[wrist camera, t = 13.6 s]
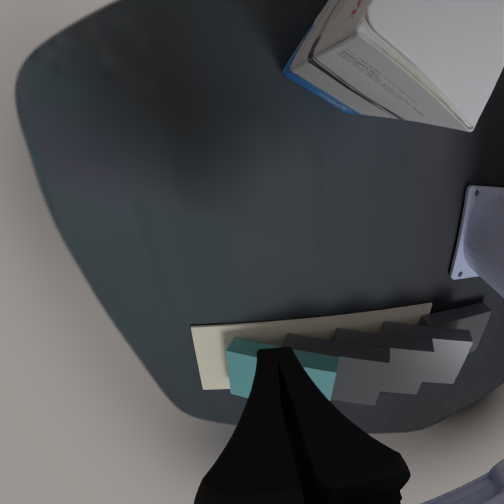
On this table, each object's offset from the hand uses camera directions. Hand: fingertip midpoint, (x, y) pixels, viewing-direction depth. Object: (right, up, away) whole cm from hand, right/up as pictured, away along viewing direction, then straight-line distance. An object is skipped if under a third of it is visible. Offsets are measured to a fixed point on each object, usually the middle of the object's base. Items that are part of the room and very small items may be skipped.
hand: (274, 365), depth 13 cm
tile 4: (+10, -4, +12) cm, 16 cm away
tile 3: (+6, -4, +12) cm, 14 cm away
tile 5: (+14, -3, +12) cm, 19 cm away
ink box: (+5, +17, +3) cm, 18 cm away
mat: (+5, -4, +13) cm, 14 cm away
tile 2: (+2, -4, +12) cm, 13 cm away
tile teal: (-2, -4, +12) cm, 13 cm away
